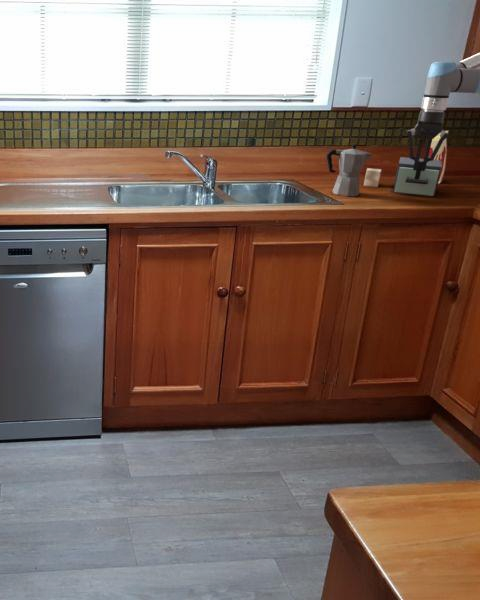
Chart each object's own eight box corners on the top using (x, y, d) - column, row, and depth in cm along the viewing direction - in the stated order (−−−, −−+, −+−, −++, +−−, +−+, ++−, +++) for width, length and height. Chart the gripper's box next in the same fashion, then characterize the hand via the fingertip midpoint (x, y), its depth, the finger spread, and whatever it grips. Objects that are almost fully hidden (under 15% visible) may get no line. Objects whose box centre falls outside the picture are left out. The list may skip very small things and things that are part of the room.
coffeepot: (362, 192, 225) (372, 142, 218) (367, 197, 217) (377, 146, 210) (318, 189, 229) (327, 140, 222) (321, 194, 220) (330, 144, 213)
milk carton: (442, 180, 249) (454, 129, 241) (440, 183, 241) (453, 132, 234) (417, 177, 253) (429, 127, 245) (415, 181, 246) (426, 130, 238)
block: (378, 184, 238) (381, 169, 236) (377, 187, 234) (380, 171, 232) (364, 183, 240) (367, 168, 238) (363, 185, 236) (366, 170, 234)
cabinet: (434, 197, 220) (441, 167, 215) (392, 192, 226) (398, 163, 221) (434, 188, 233) (441, 160, 228) (394, 184, 238) (400, 157, 234)
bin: (433, 199, 212) (439, 173, 208) (393, 195, 217) (398, 170, 214) (433, 188, 229) (439, 164, 225) (396, 184, 234) (401, 161, 231)
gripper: (410, 110, 205) (395, 179, 215) (455, 112, 200) (437, 184, 209) (411, 108, 212) (396, 176, 221) (454, 111, 206) (437, 180, 215)
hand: (416, 179), depth 215 cm, fingers closed
